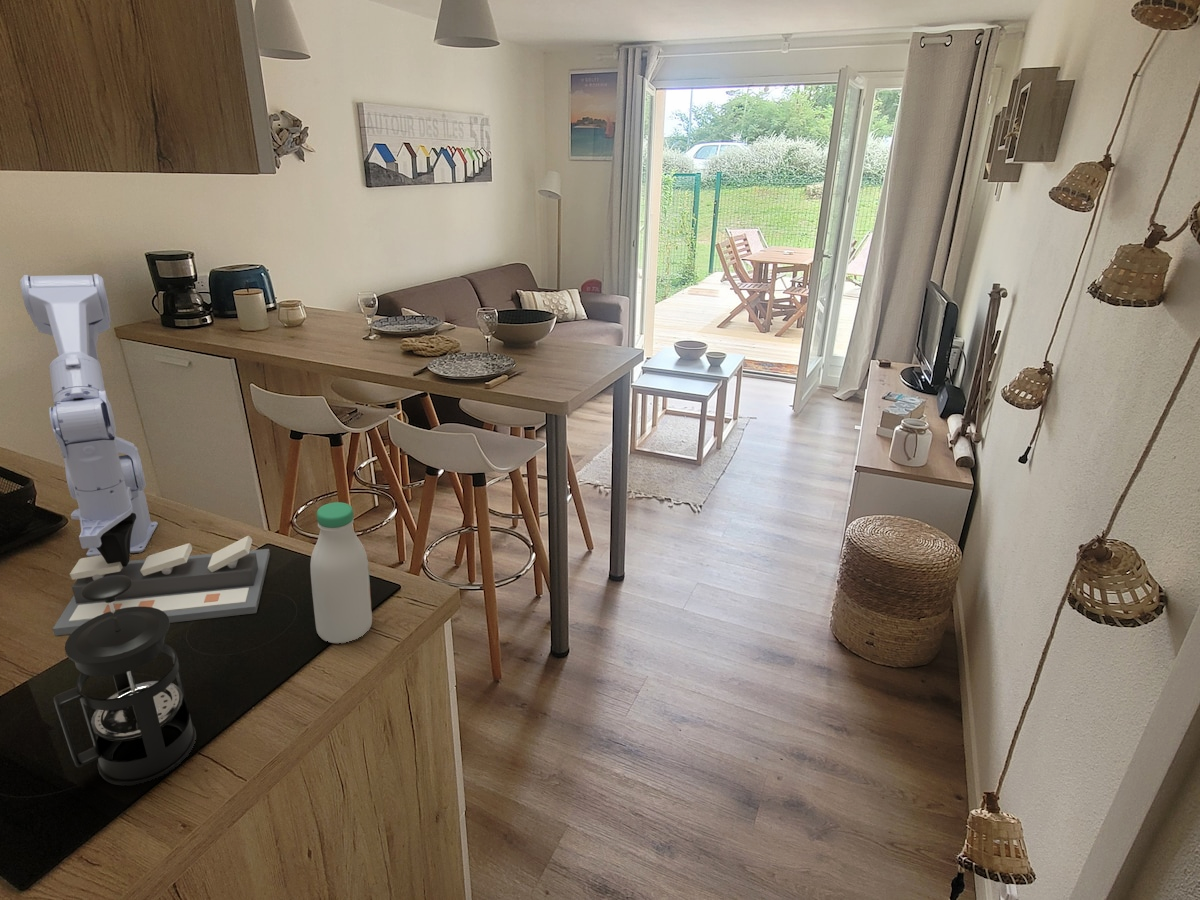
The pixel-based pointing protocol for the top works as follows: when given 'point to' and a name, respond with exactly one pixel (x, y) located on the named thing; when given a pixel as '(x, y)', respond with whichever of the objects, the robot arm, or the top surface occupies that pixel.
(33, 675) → the top surface
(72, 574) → the switch near
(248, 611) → the switch panel
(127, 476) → the robot arm
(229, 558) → the switch far
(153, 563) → the switch middle
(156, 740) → the french press
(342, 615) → the milk bottle
